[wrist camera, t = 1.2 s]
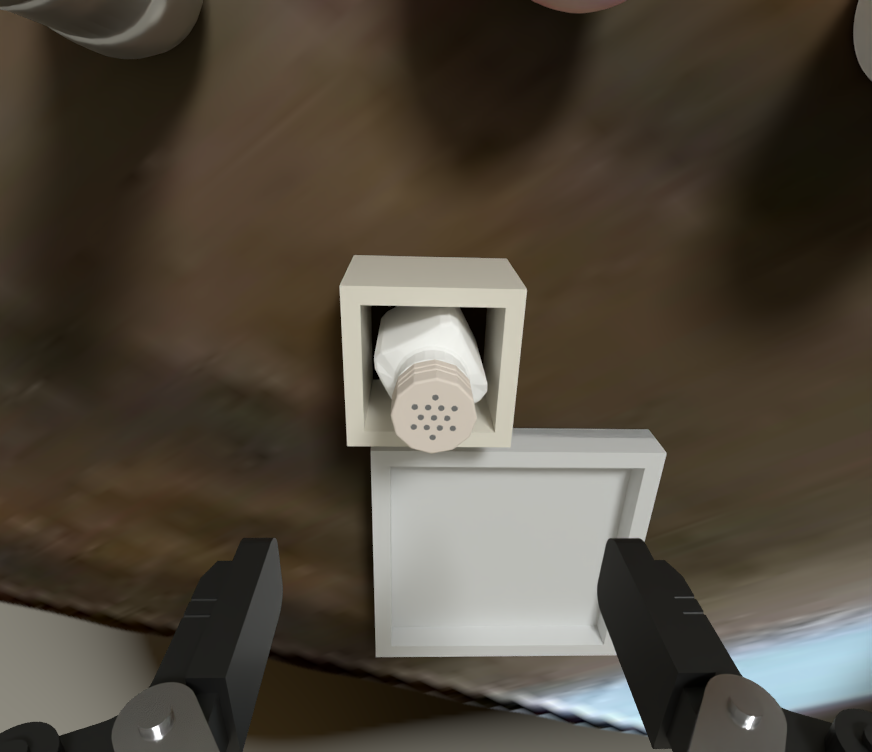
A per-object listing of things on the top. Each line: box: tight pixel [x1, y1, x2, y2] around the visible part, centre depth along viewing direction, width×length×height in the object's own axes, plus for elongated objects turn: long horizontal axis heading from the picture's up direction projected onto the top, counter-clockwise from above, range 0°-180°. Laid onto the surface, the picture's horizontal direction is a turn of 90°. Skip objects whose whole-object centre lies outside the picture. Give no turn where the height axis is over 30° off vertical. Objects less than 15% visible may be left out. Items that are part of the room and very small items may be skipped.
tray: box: [371, 428, 667, 657], centre depth 33 cm, size 16×16×2 cm
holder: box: [340, 255, 527, 448], centre depth 26 cm, size 8×8×6 cm
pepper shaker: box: [374, 306, 487, 454], centre depth 24 cm, size 4×4×10 cm
